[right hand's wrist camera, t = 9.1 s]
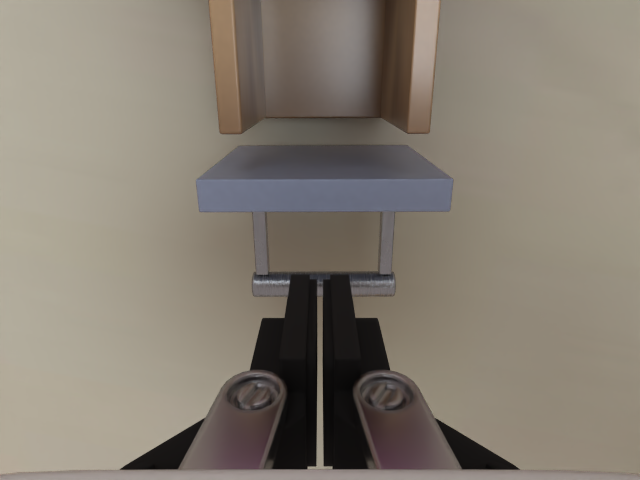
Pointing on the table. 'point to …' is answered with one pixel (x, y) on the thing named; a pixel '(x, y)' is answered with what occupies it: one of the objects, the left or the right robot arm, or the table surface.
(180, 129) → the table surface
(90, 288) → the table surface
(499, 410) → the table surface
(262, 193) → the drawer
